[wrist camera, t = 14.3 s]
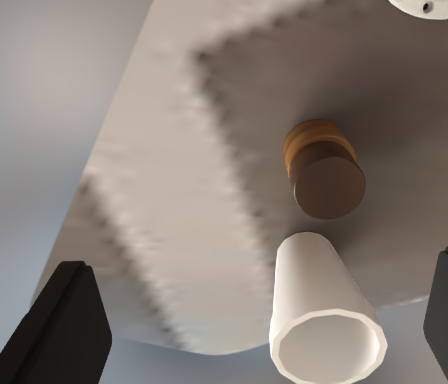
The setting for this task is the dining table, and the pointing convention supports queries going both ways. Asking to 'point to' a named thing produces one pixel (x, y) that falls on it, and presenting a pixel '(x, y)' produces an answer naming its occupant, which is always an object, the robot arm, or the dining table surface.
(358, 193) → the walnut chip
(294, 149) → the oak chip middle
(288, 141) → the oak base
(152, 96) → the dining table surface
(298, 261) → the foam cup
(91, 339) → the robot arm
